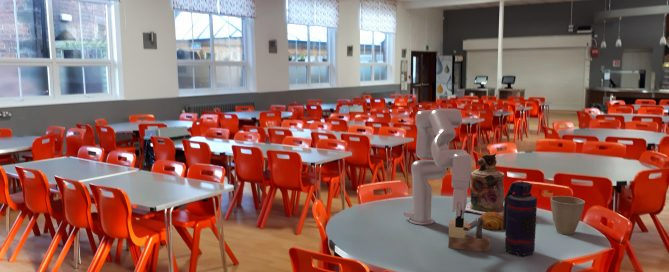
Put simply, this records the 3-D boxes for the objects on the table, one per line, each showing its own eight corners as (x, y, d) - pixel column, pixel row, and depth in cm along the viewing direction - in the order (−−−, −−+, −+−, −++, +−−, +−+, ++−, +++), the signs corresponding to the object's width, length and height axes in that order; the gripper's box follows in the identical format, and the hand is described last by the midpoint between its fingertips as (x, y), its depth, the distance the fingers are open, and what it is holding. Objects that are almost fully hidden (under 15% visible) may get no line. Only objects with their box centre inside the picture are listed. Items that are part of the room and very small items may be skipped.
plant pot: (549, 235, 246) (551, 202, 244) (548, 226, 260) (549, 194, 258) (584, 238, 241) (586, 205, 239) (581, 229, 255) (583, 197, 253)
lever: (469, 231, 214) (469, 227, 214) (462, 230, 216) (462, 226, 216) (484, 222, 226) (484, 219, 226) (477, 221, 228) (477, 217, 228)
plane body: (448, 247, 229) (449, 222, 228) (449, 243, 234) (450, 219, 233) (489, 251, 224) (490, 226, 222) (489, 248, 229) (490, 223, 227)
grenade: (540, 253, 222) (544, 183, 218) (522, 259, 216) (525, 187, 212) (513, 244, 234) (516, 178, 230) (495, 249, 227) (497, 181, 223)
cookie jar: (473, 202, 307) (475, 148, 303) (515, 208, 293) (518, 151, 289) (456, 211, 288) (458, 153, 283) (501, 218, 273) (504, 158, 269)
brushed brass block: (448, 236, 228) (449, 223, 227) (450, 232, 234) (450, 219, 233) (465, 238, 226) (465, 224, 225) (466, 234, 232) (466, 221, 231)
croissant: (475, 232, 258) (474, 217, 256) (482, 220, 271) (482, 205, 269) (505, 236, 251) (505, 220, 249) (511, 223, 264) (511, 208, 262)
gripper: (453, 178, 222) (452, 220, 225) (449, 187, 208) (448, 231, 211) (472, 180, 220) (470, 222, 222) (469, 188, 206) (467, 233, 208)
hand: (459, 226), depth 217 cm, fingers closed
